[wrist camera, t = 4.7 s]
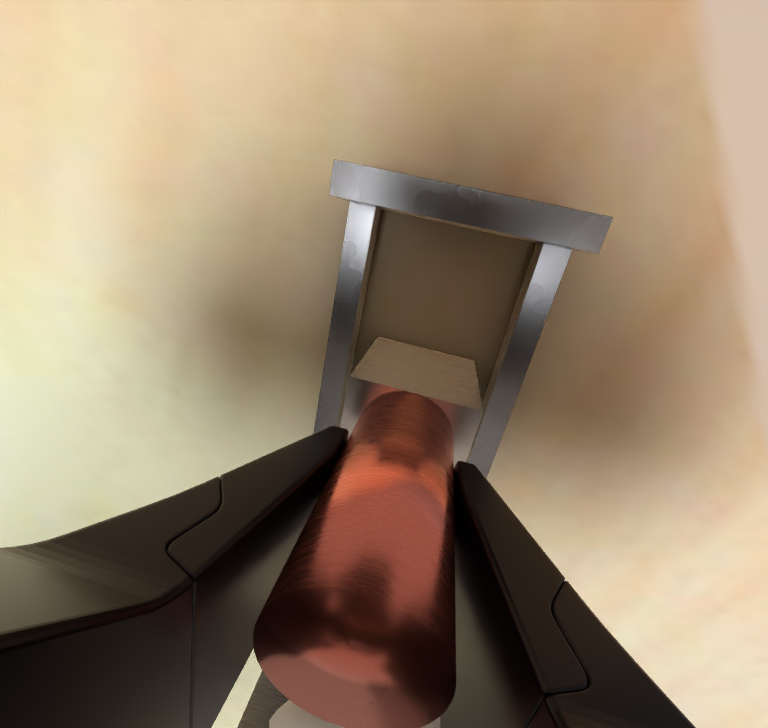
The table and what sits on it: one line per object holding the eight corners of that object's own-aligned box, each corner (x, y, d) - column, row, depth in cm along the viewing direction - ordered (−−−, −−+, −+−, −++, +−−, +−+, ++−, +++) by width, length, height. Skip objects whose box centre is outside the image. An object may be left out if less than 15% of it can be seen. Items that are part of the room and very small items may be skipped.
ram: (438, 492, 15) (420, 874, 6) (345, 465, 15) (196, 787, 6) (481, 362, 13) (549, 651, 4) (371, 334, 13) (206, 542, 4)
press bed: (413, 654, 19) (397, 835, 13) (290, 613, 19) (224, 770, 14) (571, 221, 11) (695, 208, 5) (362, 177, 12) (280, 124, 6)
